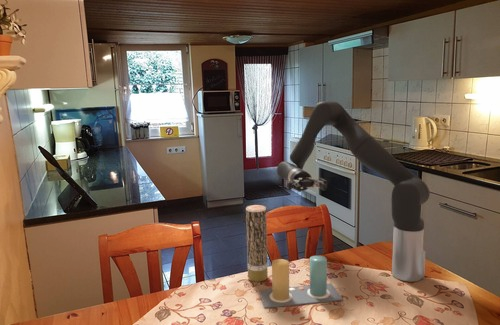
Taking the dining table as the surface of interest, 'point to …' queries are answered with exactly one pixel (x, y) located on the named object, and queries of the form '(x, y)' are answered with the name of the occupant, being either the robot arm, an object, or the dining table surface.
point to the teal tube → (318, 276)
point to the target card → (299, 297)
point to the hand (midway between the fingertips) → (312, 188)
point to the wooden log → (256, 242)
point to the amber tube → (280, 279)
